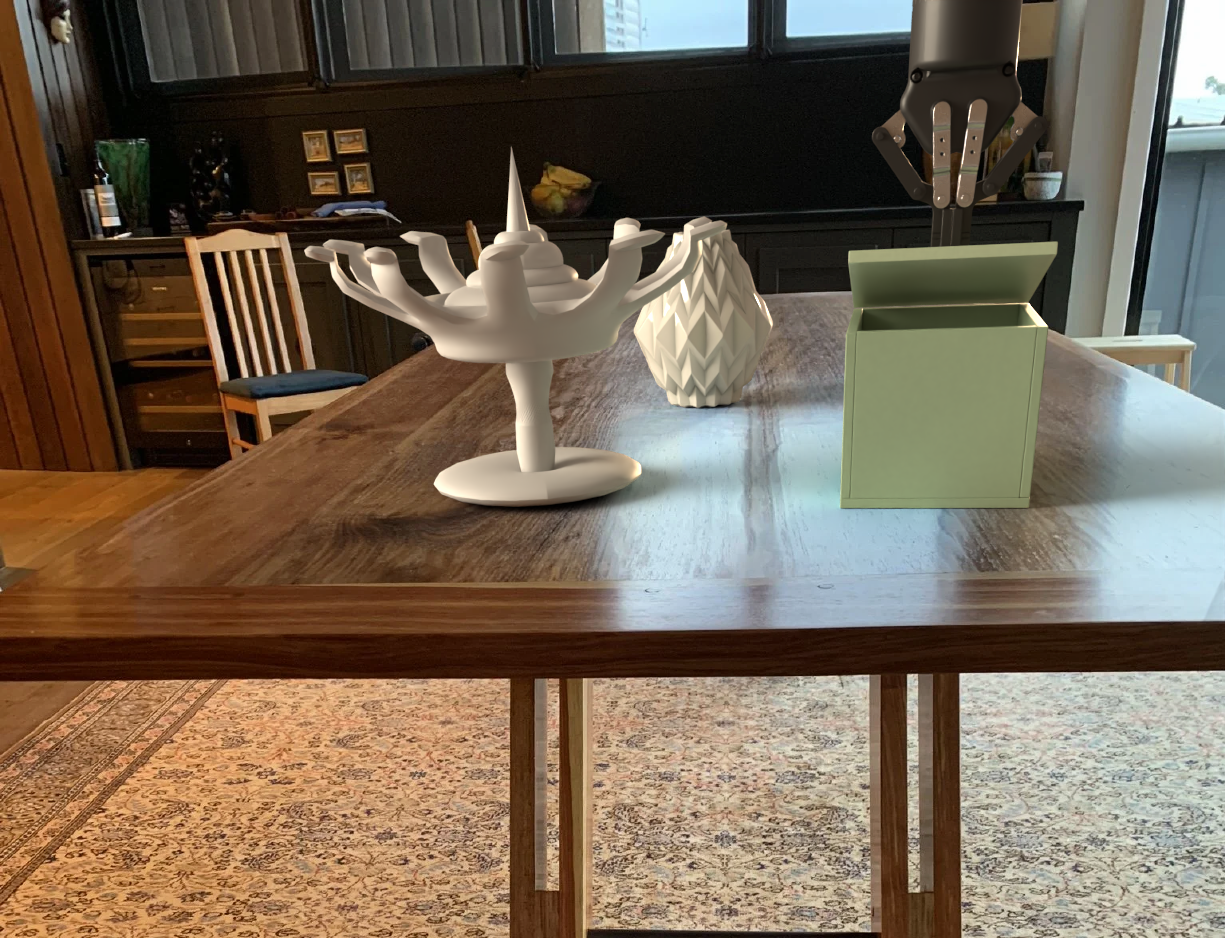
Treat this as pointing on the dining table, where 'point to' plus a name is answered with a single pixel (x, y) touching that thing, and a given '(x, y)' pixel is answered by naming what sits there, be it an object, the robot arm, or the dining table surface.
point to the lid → (948, 274)
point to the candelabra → (522, 337)
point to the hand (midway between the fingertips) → (948, 261)
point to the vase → (706, 328)
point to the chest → (941, 406)
